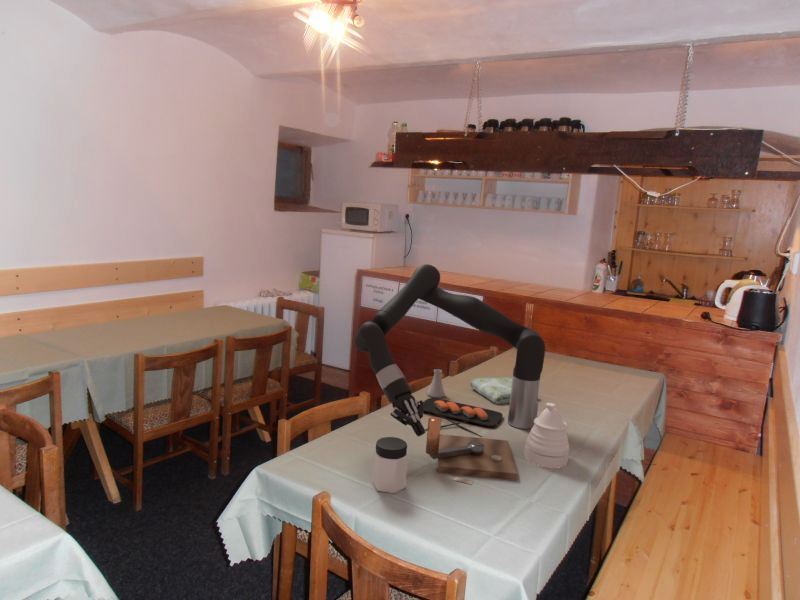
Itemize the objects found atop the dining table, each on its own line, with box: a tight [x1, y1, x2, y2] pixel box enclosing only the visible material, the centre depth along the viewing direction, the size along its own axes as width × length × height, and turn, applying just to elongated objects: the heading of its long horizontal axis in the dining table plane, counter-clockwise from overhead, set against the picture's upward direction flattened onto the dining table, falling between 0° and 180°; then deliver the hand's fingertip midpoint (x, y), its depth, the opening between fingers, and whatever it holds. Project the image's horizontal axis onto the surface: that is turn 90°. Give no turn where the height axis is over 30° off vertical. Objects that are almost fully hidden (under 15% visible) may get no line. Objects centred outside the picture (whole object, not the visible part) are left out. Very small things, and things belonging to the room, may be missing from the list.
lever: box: [425, 416, 484, 460], centre depth 168 cm, size 19×5×12 cm, turn 116°
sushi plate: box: [423, 397, 504, 438], centre depth 200 cm, size 29×30×4 cm
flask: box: [426, 368, 446, 399], centre depth 224 cm, size 7×7×10 cm
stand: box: [437, 433, 518, 486], centre depth 170 cm, size 22×27×2 cm
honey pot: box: [524, 402, 570, 469], centre depth 174 cm, size 13×13×18 cm
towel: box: [470, 376, 513, 405], centre depth 231 cm, size 18×21×5 cm
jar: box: [371, 436, 409, 494], centre depth 152 cm, size 9×8×12 cm
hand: (421, 434), depth 167 cm, fingers closed
